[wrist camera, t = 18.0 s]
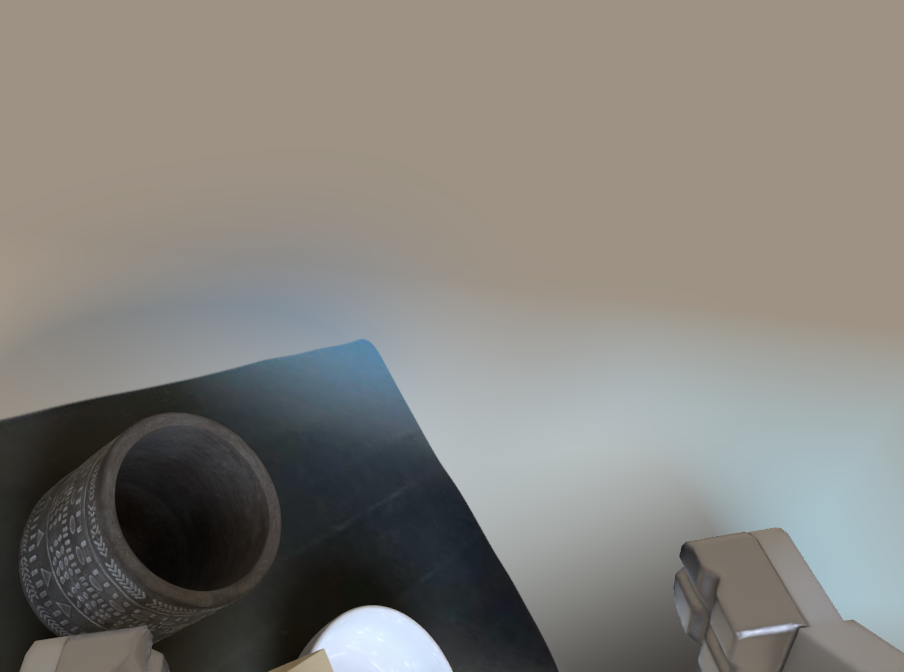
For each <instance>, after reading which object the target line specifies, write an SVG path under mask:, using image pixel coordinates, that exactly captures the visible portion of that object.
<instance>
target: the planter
mask: <svg viewBox="0 0 904 672" xmlns="http://www.w3.org/2000/svg"><path fill="white" fill-rule="evenodd" d="M280 534H281V512H280V506H279V501H278V497H277V493H276V490H275V487H274V485H273V482H272V480H271V478H270V476H269V474H268V472H267V470H266V468H265V467H264V465H263V464H262V462H261V460H260V459H259V458H258V456H257V455H256V454H255V452H254V451H253V450H252V449H251V448H250V446H249V445H248V444H247V443H246V442H245V441H244V440H243V439H242V438H240V437H239V436H238V435H237V434H236V433H234V432H233V431H232V430H230V429H229V428H227V427H226V426H224V425H222V424H220V423H218V422H217V421H214V420H212V419H210V418H207V417H204V416H201V415H197V414H192V413H186V412H166V413H160V414H156V415H152V416H149V417H147V418H144V419H142V420H140V421H138V422H137V423H135V424H134V425H132V426H130V427H129V428H128V429H127V430H125V431H124V432H123V433H121V434H120V435H119V436H118V437H116V438H115V439H113V440H112V441H111V442H109V443H108V444H107V445H105V446H104V447H103V448H102V449H100V450H99V451H98V452H96V453H95V454H94V455H93V456H91V457H90V458H89V459H88V460H86V461H85V462H84V463H83V464H82V465H80V466H79V467H78V468H76V469H75V470H73V471H72V472H71V473H69V474H68V475H66V476H65V477H64V478H63V479H61V480H60V481H59V482H58V483H56V484H55V485H54V486H53V487H52V488H51V489H50V490H49V491H47V492H46V493H45V494H44V495H43V496H42V497H41V499H40V500H39V501H38V502H37V504H36V505H35V506H34V508H33V509H32V511H31V512H30V514H29V516H28V518H27V520H26V522H25V525H24V528H23V531H22V534H21V538H20V543H19V550H18V567H19V576H20V581H21V585H22V589H23V592H24V594H25V597H26V599H27V601H28V603H29V605H30V607H31V609H32V610H33V612H34V613H35V615H36V616H37V617H38V619H39V620H40V621H41V622H42V623H43V624H44V625H45V626H46V627H47V628H48V629H49V630H50V631H51V632H52V633H54V634H55V635H56V636H58V637H64V636H71V635H81V634H88V633H95V632H102V631H109V630H116V629H123V628H130V627H137V626H144V625H146V626H147V627H148V629H149V630H150V632H151V634H152V635H153V637H154V639H153V644H154V643H156V642H158V641H160V640H162V639H164V638H166V637H168V636H170V635H172V634H174V633H175V632H177V631H179V630H181V629H182V628H184V627H186V626H188V625H191V624H193V623H195V622H197V621H199V620H201V619H203V618H205V617H207V616H209V615H211V614H213V613H214V612H216V611H218V610H220V609H222V608H224V607H225V606H227V605H229V604H231V603H233V602H234V601H236V600H238V599H240V598H242V597H243V596H245V595H246V594H248V593H249V592H250V591H251V590H253V589H254V588H255V587H256V586H257V585H258V584H259V583H260V582H261V580H262V579H263V578H264V577H265V575H266V574H267V572H268V570H269V569H270V567H271V565H272V563H273V561H274V558H275V556H276V553H277V550H278V546H279V541H280Z"/></svg>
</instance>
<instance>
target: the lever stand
mask: <svg viewBox="0 0 904 672" xmlns="http://www.w3.org/2000/svg"><path fill="white" fill-rule="evenodd" d="M268 672H334V671H333V669H332V666H331V664H330V662H329V659H328V657H327V654H326V652H325V649H324V648H323V649H320V650H318V651H315V652H313V653H311V654H308V655H306V656H304V657H301V658H299V659H297V660H294V661H292V662H289V663H287V664H285V665H282V666H280V667H278V668H275V669H273V670H270V671H268Z"/></svg>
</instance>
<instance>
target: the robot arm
mask: <svg viewBox="0 0 904 672" xmlns="http://www.w3.org/2000/svg"><path fill="white" fill-rule="evenodd" d="M680 559H681V561H682V563H683V565H684V567H683V568H682V569H681V570H680V571H679V572H677V573H676V575H675V582H674V595H675V603H676V607H677V611H678V614H679V617H680V620H681V623H682V625H683V627H684V630H685V632H686V634H687V635H688V636H690V637H691V638H692V639H693V640H695V641H696V642H697V643H699V644H700V645H701V646H702V648H701V652H700V655H699V659H698V662H699V665H700V667H701V669H702V671H703V672H904V653H903V652H901V651H900V650H898V649H897V648H895V647H894V646H892V645H891V644H889V643H888V642H886V641H884V640H883V639H882V638H880V637H879V636H877V635H876V634H874V633H873V632H871V631H869V630H868V629H866V628H865V627H863V626H862V625H860V624H859V623H857V622H856V621H854V620H847V621H843V619H842V617H841V616H840V614H839V613H838V611H837V610H836V608H835V607H834V605H833V603H832V602H831V600H830V599H829V597H828V596H827V594H826V592H825V591H824V589H823V588H822V586H821V585H820V583H819V582H818V580H817V579H816V577H815V575H814V574H813V572H812V571H811V569H810V568H809V566H808V564H807V563H806V561H805V560H804V558H803V557H802V555H801V554H800V552H799V550H798V549H797V548H796V546H795V544H794V543H793V541H792V540H791V538H790V536H789V535H788V533H786V532H785V531H784V530H782V529H781V528H770V529H765V530H758V531H753V532H747V533H746V532H741V533H735V534H729V535H723V536H717V537H711V538H706V539H700V540H694V541H689V542H685V543H684V544H683V545H682V547H681V552H680ZM153 639H154V637H153V635H152V634H151V632H150V630H149V629H148V627H147V626H146V625H144V626H137V627H130V628H123V629H116V630H109V631H102V632H95V633H88V634H81V635H71V636H64V637H58V638H51V639H45V640H39V641H35V642H34V643H33V645H32V646H31V648H30V649H29V650H28V652H27V653H26V655H25V657H24V660H23V663H22V666H21V668H20V671H19V672H170V671H169V667H168V663H167V661H166V659H165V657H164V655H163V654H162V653H159V652H157V651H155V650H153V649H152V644H153Z"/></svg>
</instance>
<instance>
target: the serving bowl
mask: <svg viewBox="0 0 904 672" xmlns="http://www.w3.org/2000/svg"><path fill="white" fill-rule="evenodd" d="M323 648H324V649H325V652H326V654H327V657H328V659H329V662H330V664H331V666H332V669H333V671H334V672H453V671H452V669H451V667H450V665H449V663H448V661H447V659H446V657H445V656H444V654H443V652H442V651H441V649H440V648H439V646H438V645H437V644H436V642H435V641H434V640H433V638H432V637H431V636H430V635H429V634H428V633H427V632H426V631H425V630H424V629H423V628H422V627H421V626H420V625H419V624H418V623H417V622H415V621H414V620H413V619H411V618H410V617H408V616H407V615H405V614H403V613H401V612H399V611H397V610H395V609H392V608H389V607H384V606H377V605H368V606H361V607H357V608H354V609H351V610H348V611H346V612H344V613H343V614H341V615H339V616H338V617H336V618H335V619H334V620H332V621H331V622H330V623H328V624H327V625H326V626H324V627H323V628H322V629H321V630H320V631H319V632H318V633H317V634H316V635H315V636H314V637H313V638H312V639H311V640H310V642H309V643H308V644H307V645H306V647H305V648H304V650H303V651H302V653H301V654H300V656H299V657H298V659H299V658H301V657H304V656H306V655H308V654H311V653H313V652H315V651H318V650H320V649H323Z"/></svg>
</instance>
